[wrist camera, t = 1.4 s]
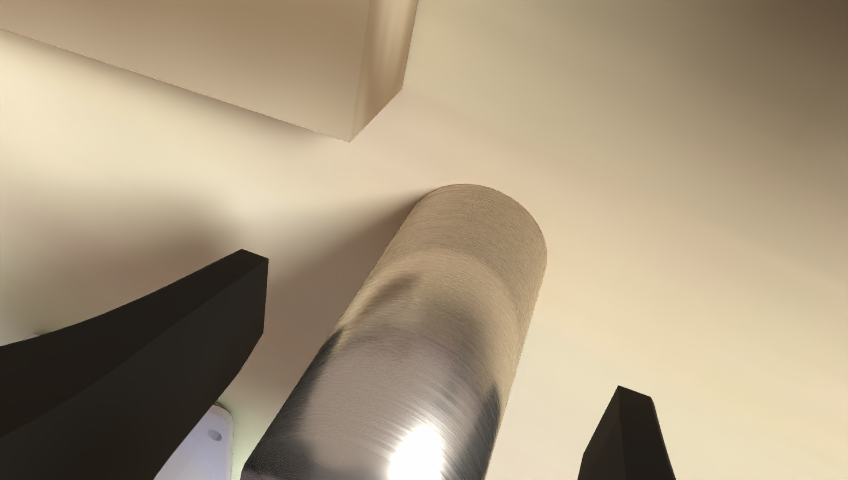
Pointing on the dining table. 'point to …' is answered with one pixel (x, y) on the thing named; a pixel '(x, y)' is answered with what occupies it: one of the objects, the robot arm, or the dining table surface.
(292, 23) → the socket block
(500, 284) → the peg
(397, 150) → the dining table surface
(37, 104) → the dining table surface
